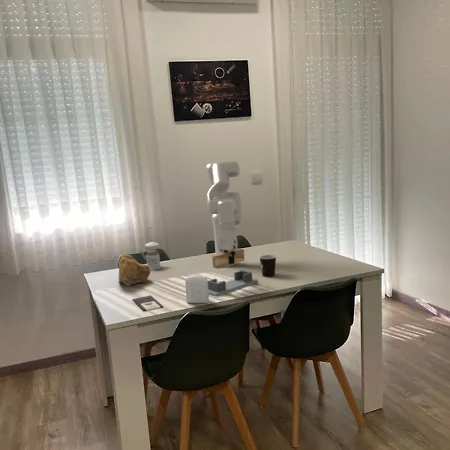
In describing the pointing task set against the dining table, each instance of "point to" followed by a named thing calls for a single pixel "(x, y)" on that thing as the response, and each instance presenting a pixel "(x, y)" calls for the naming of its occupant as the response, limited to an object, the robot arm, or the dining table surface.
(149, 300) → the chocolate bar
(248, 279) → the endcap board
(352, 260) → the dining table surface
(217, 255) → the slat
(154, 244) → the french press
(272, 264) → the coffee mug
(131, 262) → the rough brown rock
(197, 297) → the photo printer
